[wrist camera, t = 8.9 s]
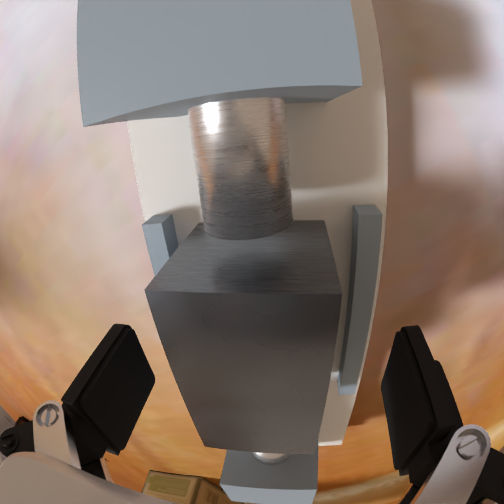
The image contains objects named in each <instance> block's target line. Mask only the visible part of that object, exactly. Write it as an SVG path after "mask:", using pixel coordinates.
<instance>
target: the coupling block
mask: <svg viewBox="0 0 504 504" xmlns="http://www.w3.org/2000/svg"><path fill="white" fill-rule="evenodd" d="M145 293H146V296H147V300H148V303H149V306H150V310H151V313H152V316H153V319H154V322H155V325H156V328H157V331H158V334H159V337H160V340H161V343H162V345H163V348H164V351H165V354H166V356H167V359H168V362H169V365H170V367H171V370H172V372H173V375H174V378H175V380H176V383H177V385H178V388H179V390H180V392H181V395H182V397H183V400H184V402H185V404H186V407H187V409H188V411H189V413H190V416H191V418H192V420H193V422H194V425H195V427H196V429H197V431H198V433H199V435H200V437H201V440H202V442H203V444H204V446H206V447H212V448H219V449H227V450H236V451H246V452H258V453H275V454H314V453H315V449H316V445H317V441H318V436H319V432H320V428H321V423H322V419H323V414H324V409H325V404H326V399H327V394H328V389H329V383H330V378H331V372H332V366H333V360H334V354H335V347H336V341H337V333H338V326H339V318H340V310H341V301H342V290H341V285H340V281H339V276H338V272H337V268H336V264H335V259H334V255H333V251H332V247H331V243H330V240H329V236H328V232H327V228H326V224H325V221H324V220H293V223H292V225H291V226H290V227H289V228H287V229H286V230H284V231H282V232H280V233H277V234H275V235H271V236H268V237H263V238H258V239H251V240H224V239H218V238H215V237H212V236H210V235H208V234H207V233H206V232H205V228H204V223H198V224H197V225H196V227H195V228H194V229H193V230H192V231H191V233H190V234H189V235H188V236H187V237H186V239H185V240H184V241H183V242H182V243H181V245H180V246H179V247H178V248H177V250H176V251H175V252H174V253H173V255H172V256H171V257H170V258H169V260H168V261H167V262H166V263H165V265H164V266H163V267H162V268H161V270H160V271H159V272H158V273H157V275H156V276H155V277H154V278H153V280H152V281H151V282H150V284H149V285H148V286H147V287H146V289H145Z"/></svg>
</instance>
